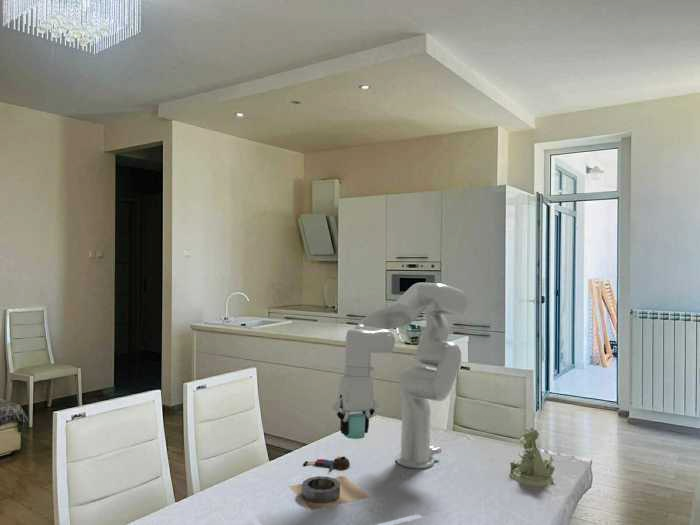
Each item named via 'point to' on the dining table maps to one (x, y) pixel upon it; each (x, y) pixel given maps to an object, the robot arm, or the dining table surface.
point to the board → (346, 493)
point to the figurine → (532, 463)
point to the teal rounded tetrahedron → (356, 426)
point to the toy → (330, 463)
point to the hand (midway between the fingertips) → (354, 432)
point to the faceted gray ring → (321, 495)
